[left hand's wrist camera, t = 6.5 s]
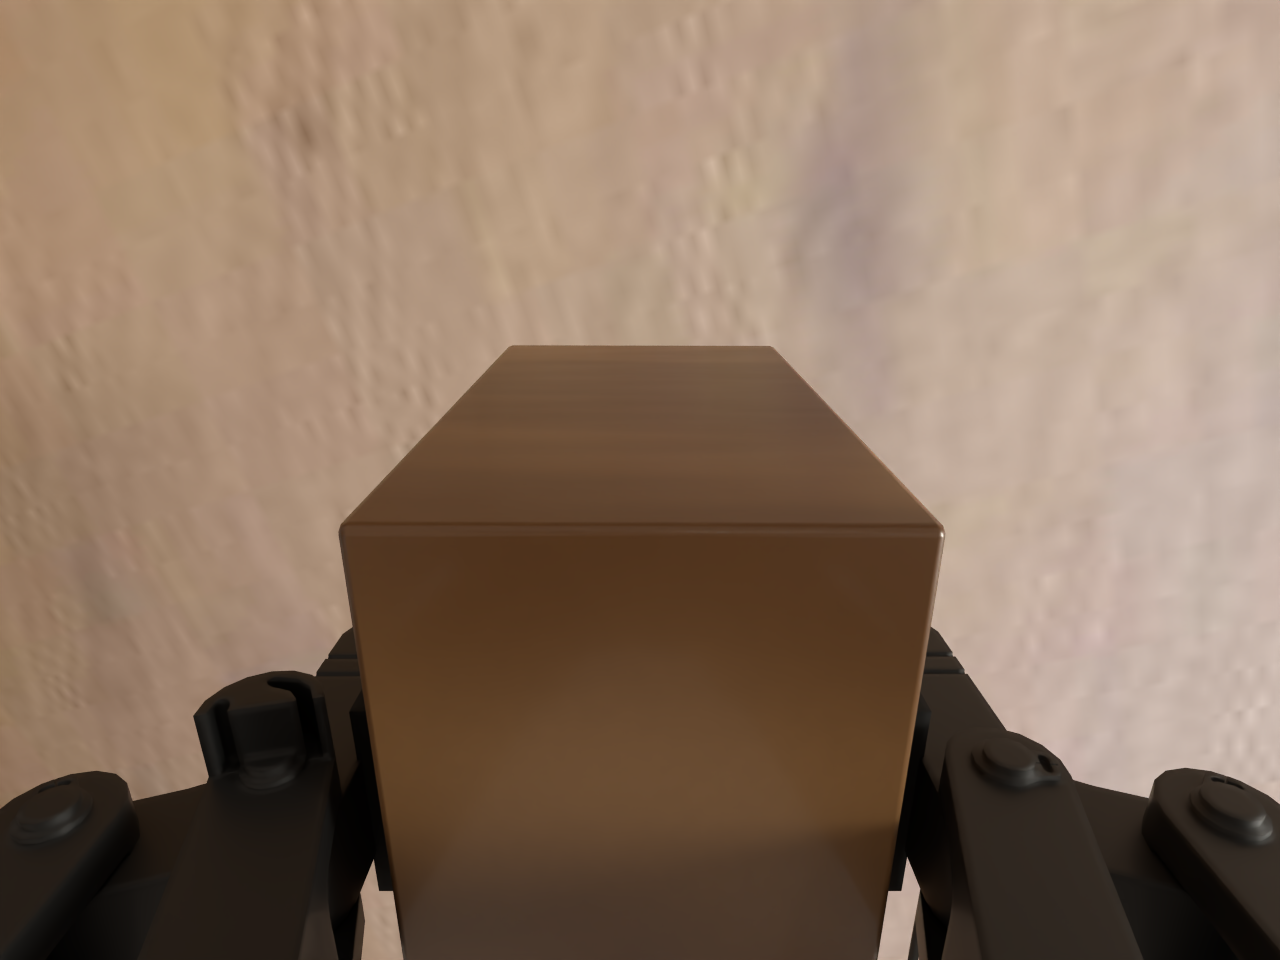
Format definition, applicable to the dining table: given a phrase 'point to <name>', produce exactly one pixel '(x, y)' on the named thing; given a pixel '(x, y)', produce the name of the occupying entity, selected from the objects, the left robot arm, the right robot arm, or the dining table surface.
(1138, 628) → the dining table surface
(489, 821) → the beam
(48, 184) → the dining table surface
